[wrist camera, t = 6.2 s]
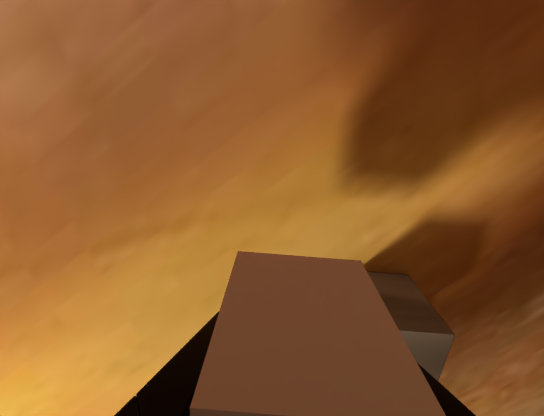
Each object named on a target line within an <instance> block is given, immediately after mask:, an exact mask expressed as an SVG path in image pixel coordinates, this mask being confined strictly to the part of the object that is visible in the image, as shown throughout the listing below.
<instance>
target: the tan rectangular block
mask: <svg viewBox="0 0 544 416" xmlns="http://www.w3.org/2000/svg"><path fill="white" fill-rule="evenodd" d="M190 416H446V415H445V413H444V411H443V409H442V408H441V406H440V404H439V402H438V400H437V398H436V397H435V395H434V393H433V391H432V389H431V387H430V386H429V384H428V382H427V380H426V378H425V377H424V375H423V373H422V371H421V369H420V367H419V366H418V364H417V362H416V360H415V358H414V357H413V355H412V353H411V351H410V349H409V347H408V346H407V344H406V342H405V340H404V338H403V336H402V335H401V333H400V331H399V329H398V327H397V326H396V324H395V322H394V320H393V318H392V316H391V315H390V313H389V311H388V309H387V307H386V306H385V304H384V302H383V300H382V298H381V296H380V295H379V293H378V291H377V289H376V287H375V286H374V284H373V282H372V280H371V278H370V276H369V275H368V273H367V271H366V269H365V267H364V265H363V264H362V262H361V261H355V260H342V259H329V258H317V257H304V256H292V255H279V254H267V253H254V252H241V251H238V253H237V256H236V259H235V263H234V266H233V269H232V272H231V276H230V279H229V282H228V285H227V289H226V292H225V295H224V298H223V302H222V305H221V308H220V311H219V315H218V318H217V321H216V324H215V328H214V331H213V334H212V337H211V341H210V344H209V347H208V350H207V354H206V357H205V360H204V363H203V367H202V370H201V373H200V376H199V380H198V383H197V386H196V389H195V393H194V396H193V399H192V402H191V406H190Z"/></svg>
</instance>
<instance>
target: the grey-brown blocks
mask: <svg viewBox="0 0 544 416" xmlns="http://www.w3.org/2000/svg"><path fill="white" fill-rule="evenodd" d="M367 273H368V275H369V276H370V278H371V280H372V282H373V284H374V286H375V287H376V289H377V291H378V293H379V295H380V296H381V298H382V300H383V302H384V304H385V306H386V307H387V309H388V311H389V313H390V315H391V316H392V318H393V320H394V322H395V324H396V326H397V327H398V329H399V331H400V333H401V335H402V336H403V338H404V340H405V342H406V344H407V346H408V347H409V349H410V351H411V353H412V355H413V357H414V358H415V360H416V362H417V363H418V364H420V365H421V366H422V367H423V368H424V369H425V370H426V371H427V372H428V373H429V374H431V375H432V376H433V377H434V378H435V379H436V380H437V381H438V380H439V377H440V374H441V372H442V369H443V366H444V364H445V361H446V358H447V355H448V353H449V350H450V347H451V345H452V342H453V339H454V337H455V334H454V333H453V332H452V330H451V329H450V328H449V326H448V325H447V324H446V323H445V321H444V320H443V319H442V318H441V316H440V315H439V314H438V312H437V311H436V310H435V309H434V307H433V306H432V305H431V304H430V302H429V301H428V300H427V298H426V297H425V296H424V295H423V293H422V292H421V291H420V290H419V288H418V287H417V286H416V284H415V283H414V282H413V281H412V279H411V278H410V277H409V276H408V275H402V274H389V273H377V272H367Z"/></svg>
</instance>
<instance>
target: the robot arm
mask: <svg viewBox="0 0 544 416" xmlns="http://www.w3.org/2000/svg"><path fill="white" fill-rule="evenodd" d="M218 315H219V312H218V313H217V314H216V315H215V316H214V317H213V318H212V319H211V320H210V321H209V322H208V323H207V324H206V325H205V326H204V327H203V328H202V329H201V330H200V331H199V332H198V333H197V334H196V335H195V336H194V337H193V338H192V339H191V340H190V341H189V342H188V343H187V344H186V345H185V346H184V347H183V348H182V349H181V350H180V351H179V352H178V353H177V354H176V355H175V356H174V357H173V358H172V359H171V360H170V361H169V362H168V363H167V364H166V365H165V366H164V367H163V368H162V369H161V370H160V371H159V372H158V373H157V374H156V375H155V376H154V377H153V378H152V379H151V380H150V381H149V382H148V383H147V384H146V385H145V386H144V387H143V388H142V389H141V390H140V391H139V392H138V393H137V394H136V396H134V397H133V398H132V399H131V400H130V401H129V402H128V403H127V404H126V405H125V406H124V407H123V408H122V409H121V410H120V411H119V412H117V413H116V414H115V415H114V416H190V406H191V402H192V399H193V396H194V393H195V389H196V386H197V383H198V380H199V376H200V373H201V370H202V367H203V363H204V360H205V357H206V354H207V350H208V347H209V344H210V341H211V337H212V334H213V331H214V328H215V324H216V321H217V318H218ZM417 364H418V363H417ZM418 366H419V367H420V369H421V371H422V373H423V375H424V377H425V378H426V380H427V382H428V384H429V386H430V387H431V389H432V391H433V393H434V395H435V397H436V398H437V400H438V402H439V404H440V406H441V408H442V409H443V411H444V413H445V415H446V416H476V415H474V414H473V413H472V412H471V411H470V410H469V409H468V408H467V407H466V406H465V405H463V404H462V403H461V402H460V401H459V400H458V399H457V398H456V397H455V396H454V395H453V394H451V393H450V392H449V391H448V390H447V389H446V388H445V387H444V386H443V385H442V384H440V383H439V382H438V381H437V380H436V379H435V378H434V377H433V376H432V375H431V374H429V373H428V372H427V371H426V370H425V369H424V368H423V367H422V366H421V365H420V364H418Z"/></svg>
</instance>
